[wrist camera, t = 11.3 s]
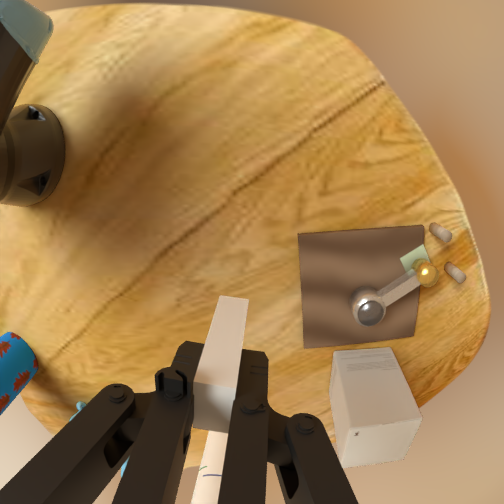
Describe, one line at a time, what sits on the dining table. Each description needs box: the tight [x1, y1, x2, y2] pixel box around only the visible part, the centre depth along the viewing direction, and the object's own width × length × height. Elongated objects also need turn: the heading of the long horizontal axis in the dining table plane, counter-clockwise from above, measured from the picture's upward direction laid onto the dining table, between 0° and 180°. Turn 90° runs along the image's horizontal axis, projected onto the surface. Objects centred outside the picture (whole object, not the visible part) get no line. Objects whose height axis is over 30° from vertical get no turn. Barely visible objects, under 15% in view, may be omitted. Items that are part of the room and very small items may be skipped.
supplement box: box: [329, 347, 423, 468], centre depth 37 cm, size 9×9×15 cm
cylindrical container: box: [191, 431, 228, 504], centre depth 39 cm, size 7×7×25 cm
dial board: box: [298, 223, 466, 349], centre depth 38 cm, size 16×21×4 cm
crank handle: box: [349, 258, 439, 327], centre depth 37 cm, size 12×4×4 cm, turn 125°
